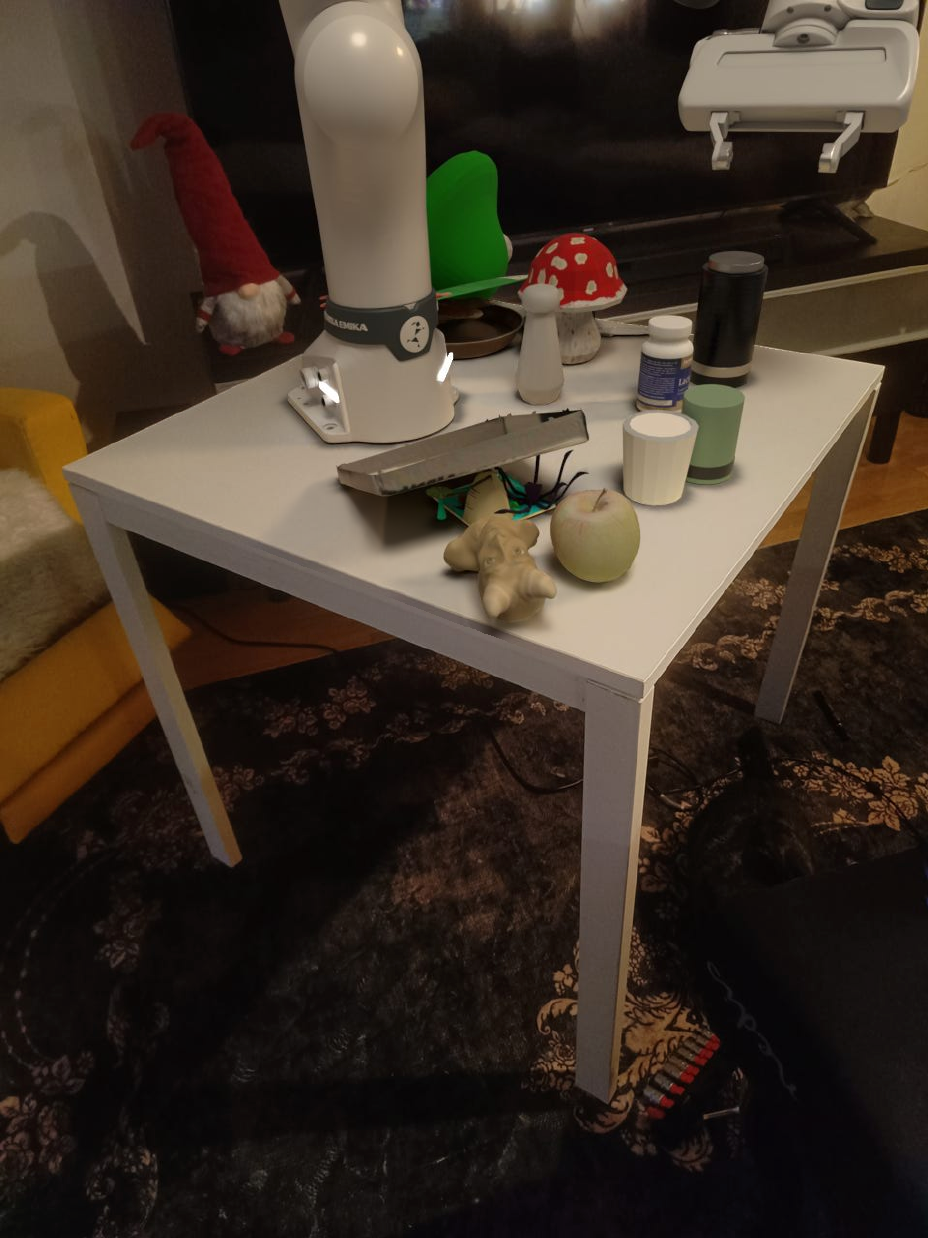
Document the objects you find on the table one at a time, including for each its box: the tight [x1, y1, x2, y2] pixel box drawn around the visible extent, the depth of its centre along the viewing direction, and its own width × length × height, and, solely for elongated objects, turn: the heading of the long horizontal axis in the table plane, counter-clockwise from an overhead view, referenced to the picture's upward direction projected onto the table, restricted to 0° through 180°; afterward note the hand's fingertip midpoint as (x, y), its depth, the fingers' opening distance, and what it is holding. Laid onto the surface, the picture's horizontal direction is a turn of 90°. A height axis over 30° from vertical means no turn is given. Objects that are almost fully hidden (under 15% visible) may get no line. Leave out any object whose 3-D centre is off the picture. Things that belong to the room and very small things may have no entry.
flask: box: [690, 250, 769, 389], centre depth 95 cm, size 7×7×14 cm
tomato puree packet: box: [436, 274, 528, 300], centre depth 109 cm, size 15×1×20 cm
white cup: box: [622, 410, 699, 506], centre depth 76 cm, size 7×7×7 cm
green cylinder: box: [681, 384, 746, 485], centre depth 78 cm, size 6×6×8 cm
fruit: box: [549, 487, 641, 583], centre depth 65 cm, size 8×7×8 cm
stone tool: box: [437, 297, 495, 323], centre depth 113 cm, size 14×3×15 cm
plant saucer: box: [436, 303, 524, 360], centre depth 113 cm, size 18×18×3 cm
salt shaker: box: [515, 284, 565, 406], centre depth 93 cm, size 6×6×13 cm
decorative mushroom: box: [517, 233, 628, 365], centre depth 102 cm, size 14×14×15 cm
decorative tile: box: [335, 407, 590, 497], centre depth 75 cm, size 20×3×20 cm
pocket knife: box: [597, 326, 649, 338], centre depth 113 cm, size 14×1×2 cm
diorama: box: [425, 449, 589, 527], centre depth 75 cm, size 11×15×6 cm
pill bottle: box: [635, 314, 693, 413], centre depth 90 cm, size 6×6×10 cm
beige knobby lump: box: [442, 516, 558, 623], centre depth 63 cm, size 8×7×12 cm
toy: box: [426, 150, 513, 299], centre depth 120 cm, size 26×24×15 cm
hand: (771, 167), depth 73 cm, fingers open, 8 cm apart
